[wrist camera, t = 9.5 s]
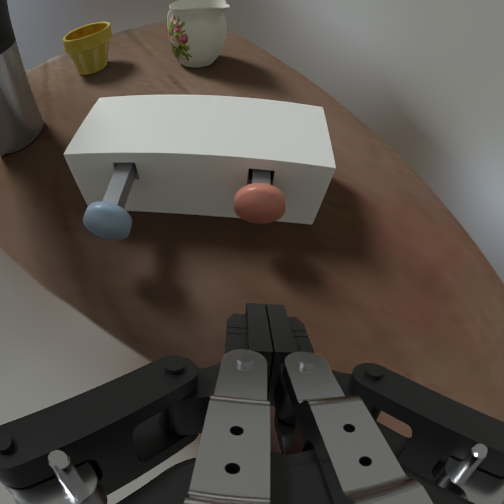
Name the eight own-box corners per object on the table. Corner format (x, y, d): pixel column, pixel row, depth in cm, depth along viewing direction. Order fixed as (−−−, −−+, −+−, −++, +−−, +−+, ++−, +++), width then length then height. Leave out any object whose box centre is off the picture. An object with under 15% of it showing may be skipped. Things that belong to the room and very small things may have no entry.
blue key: (134, 241, 26) (122, 212, 23) (92, 238, 26) (75, 210, 22) (155, 172, 31) (148, 140, 27) (117, 171, 30) (107, 141, 27)
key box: (312, 224, 34) (335, 168, 27) (89, 208, 33) (63, 154, 25) (306, 162, 39) (322, 107, 32) (114, 151, 38) (99, 97, 30)
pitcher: (190, 42, 58) (190, -10, 46) (245, 65, 52) (251, 3, 41) (148, 56, 53) (144, 0, 41) (200, 82, 48) (200, 12, 36)
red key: (281, 225, 29) (289, 195, 25) (233, 221, 28) (235, 189, 25) (279, 161, 33) (286, 130, 29) (239, 158, 33) (241, 126, 29)
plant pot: (124, 63, 52) (118, 24, 43) (80, 84, 47) (70, 43, 39) (104, 54, 55) (99, 19, 46) (65, 73, 50) (56, 37, 42)
